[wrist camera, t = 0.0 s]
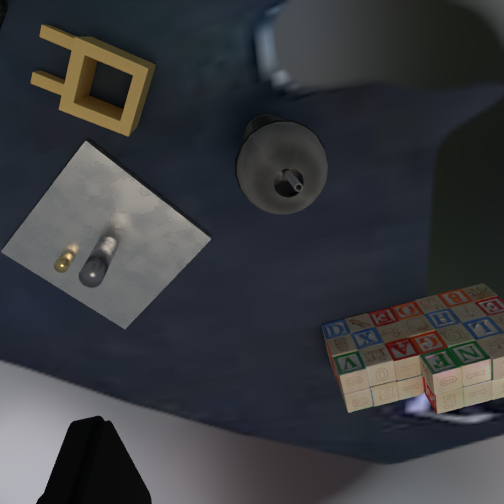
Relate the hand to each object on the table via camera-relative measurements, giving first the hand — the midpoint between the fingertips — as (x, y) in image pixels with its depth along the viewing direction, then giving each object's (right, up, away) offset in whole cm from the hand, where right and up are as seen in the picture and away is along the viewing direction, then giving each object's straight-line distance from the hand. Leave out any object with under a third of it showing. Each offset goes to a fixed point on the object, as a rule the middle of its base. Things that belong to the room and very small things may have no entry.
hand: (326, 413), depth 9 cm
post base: (-17, +5, +38) cm, 42 cm away
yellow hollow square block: (-16, +20, +30) cm, 40 cm away
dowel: (-22, +3, +38) cm, 44 cm away
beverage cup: (0, +15, +34) cm, 38 cm away
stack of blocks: (+18, -5, +47) cm, 50 cm away
